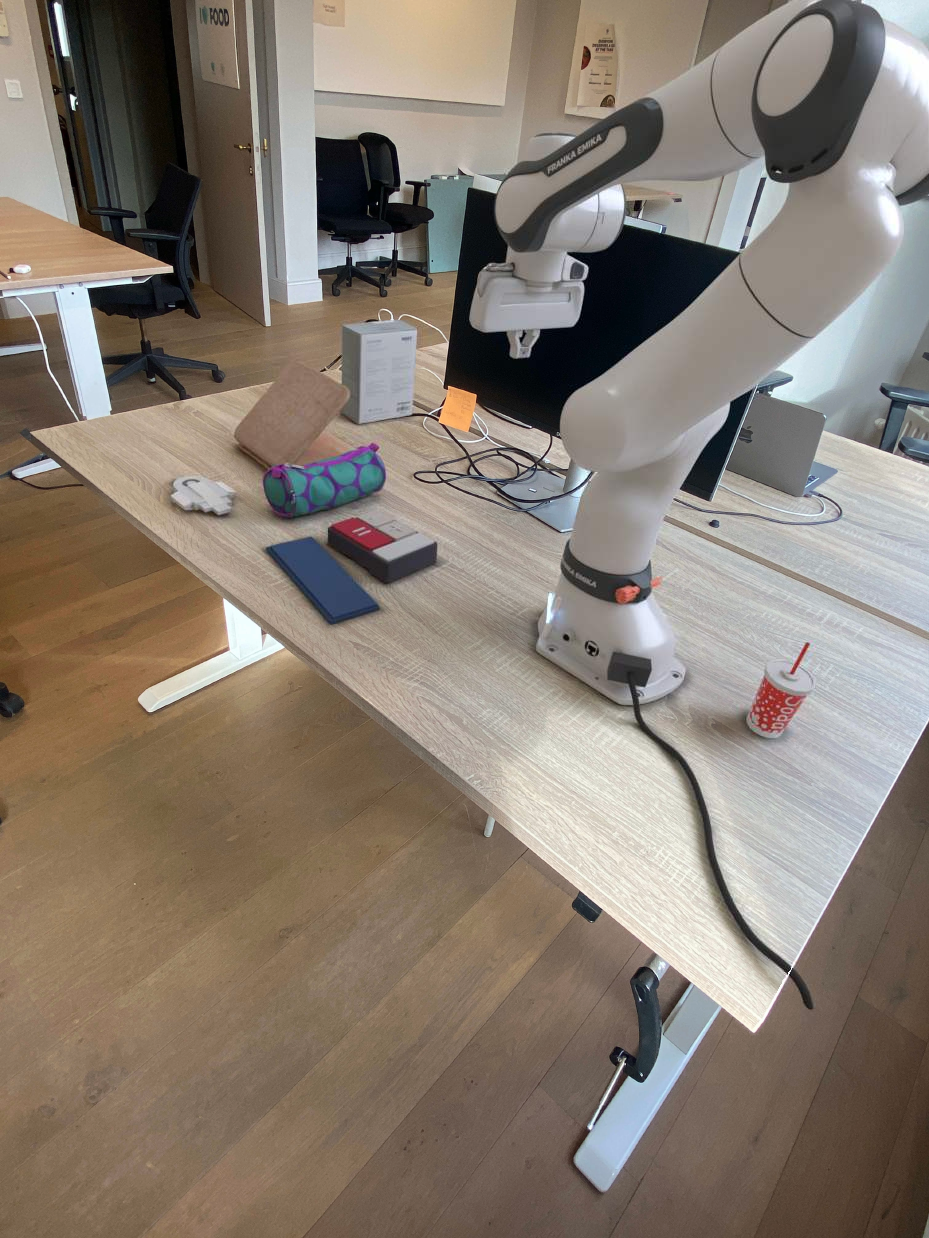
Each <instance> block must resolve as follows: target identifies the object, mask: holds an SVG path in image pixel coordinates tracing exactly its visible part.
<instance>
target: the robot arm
mask: <svg viewBox="0 0 929 1238" xmlns="http://www.w3.org/2000/svg"><path fill="white" fill-rule="evenodd" d="M763 157H764V162H765V164H764V165H765V171H766V173H767V176H768V178H769V179H770V180H771V181H774V182H776V183H780V184H788V189H787V195H786V197H785V201H784V203H783V205H782V207H781V208H780V210H779V212H778V213H777V215H776V216H775V217H774V218H773V219H772V220H771V222H770V223H769V224H768V225H767V226H766V227H765V228H764V229H763V230H762V231H761V232H760V233H759V234H758V235H757V236H756V237H755V238H754V239H753V240H752V241H751V242H750V243H749V244H748V245H747V246H746V247H744V249H743V250H742V251H741V252H740V253H739V254H738V256H736V257H735V259H734V260H733V261H732V262H731V263H730V264H728V266H727V267H726V268H725V269H724V270H723V271H722V272H721V273H720V274H719V275H718V276H717V277H716V278H714V280H713V281H712V282H711V283H710V284H709V285H708V286H707V287H706V288H705V289H704V290H703V291H702V293H701V294H699V296H697V298H695V300H694V301H692V303H690V305H689V306H688V307H686V308H685V309H684V310H683V311H682V312H680V313H679V314H678V315H677V316H675V318H674V319H673V320H671V321H670V322H668V324H666V325H665V326H663V327H662V328H661V329H659V330H658V331H657V332H655V333H653V335H651V336H650V337H648V338H647V339H646V340H644V341H643V342H641V344H639V345H638V346H637V347H635V348H634V349H633V350H632V351H630V352H629V353H628V354H627V355H626V356H624V357H623V358H621V360H619V361H618V362H617V363H615V364H614V365H613V366H612V367H610V368H609V369H607V370H606V371H605V372H604V373H602V374H601V375H599V376H598V377H596V378H594V379H593V380H592V381H590V382H589V383H586V384H585V385H584V386H582V387H580V388H578V389H576V390H575V391H574V392H573V393H571V395H570V396H569V397H568V398H567V400H566V402H565V404H564V405H563V408H562V411H561V415H560V418H559V419H560V420H559V433H560V438H561V439H560V440H561V442H562V445H563V448H564V450H565V452H566V454H567V456H568V457H569V458H570V459H571V461H572V462H573V463H574V464H575V465H577V466H578V467H579V468H580V469H583V470H585V471H588V472H593V473H597V474H595V476H594V477H593V478H592V479H591V480H590V481H589V482H588V483H587V484H586V486H585V487H584V489H583V491H582V492H581V495H580V496H579V497H580V498H579V502H578V506H577V510H576V514H575V518H574V522H573V526H572V530H571V535H570V537H569V539H567V541H566V543H565V545H564V550H563V553H562V556H561V560H560V566H559V568H560V574H559V578H558V580H557V583H556V586H555V587H554V590H553V593H549V594H548V599H547V604H546V605H547V606H546V607H545V609H544V611H543V613H542V614H541V615H540V617H539V618H538V621H537V632H538V639H537V642H536V644H535V650H536V652H537V653H538V654H539V655H540V656H543V657H544V658H546V659H547V660H549V661H550V662H552V663H554V664H555V665H557V666H558V667H560V668H561V669H563V670H564V671H565V672H567V673H569V674H571V675H572V676H574V677H575V678H577V679H579V680H580V681H581V682H583V683H585V684H586V685H588V686H590V687H591V688H593V690H595V691H597V692H599V693H600V694H602V695H603V696H605V697H607V698H608V699H610V700H612V701H613V702H615V703H617V704H618V705H623V706H633V714H634V718H635V721H636V722H637V725H638V726H639V728H640V729H641V730H642V731H643V732H644V733H645V734H646V735H647V736H648V737H649V738H650V739H651V740H653V742H655V743H656V744H658V746H660V747H661V748H662V749H664V750H665V751H666V752H668V753H669V754H670V755H671V756H672V757H673V758H674V759H675V760H676V762H677V763H679V765H680V767H681V768H682V770H683V772H684V773H685V774H686V777H687V778H688V781H689V783H690V785H691V787H692V791H693V794H694V796H695V800H696V803H697V806H698V809H699V812H700V816H701V819H702V820H701V821H702V825H703V826H702V827H703V832H704V842H705V849H706V852H707V858H708V861H709V864H710V868H711V871H712V874H713V877H714V879H715V882H716V884H717V888H718V890H719V892H720V895H721V897H722V899H723V901H724V903H725V905H726V907H727V909H728V911H729V913H730V914H731V917H732V918H733V919H734V921H735V924H736V925H737V926H738V927H739V929H740V931H741V932H742V933H743V935H744V936H745V938H747V940H748V941H749V943H751V944H752V946H753V947H755V949H757V950H758V951H759V952H760V953H761V954H763V956H764V957H766V958H767V959H769V960H770V961H771V962H772V963H773V964H775V965H776V967H778V968H779V969H781V970H782V971H783V972H784V973H785V974H786V975H787V976H788V972H789V971H790V970H791V967H793V966H792V965H791V964H790V963H788V961H786V960H785V959H784V958H782V957H781V956H780V955H778V953H776V952H775V951H774V950H772V949H771V948H770V947H769V946H767V945H766V944H765V943H764V942H763V941H762V940H760V938H759V937H758V936H757V935H756V934H755V933H754V931H753V930H752V929H751V927H750V926H749V925H748V923H747V922H746V920H745V919H744V917H743V916H742V914H741V912H740V910H739V909H738V907H737V905H736V903H735V902H734V900H733V897H732V896H731V893H730V891H729V888H728V886H727V883H726V881H725V878H724V876H723V873H722V870H721V868H720V865H719V862H718V859H717V855H716V851H715V845H714V839H713V832H712V831H713V830H712V824H711V819H710V814H709V811H708V809H707V808H708V807H707V804H706V802H705V799H704V796H703V792H702V790H701V787H700V784H699V782H698V779H697V777H696V776H695V775H696V774H695V773H694V772H693V770H692V768H691V767H690V765H689V763H688V762H687V760H686V759H685V758H684V757H683V755H682V754H681V753H680V752H679V751H678V750H677V749H676V748H675V747H673V746H672V745H670V744H669V743H667V742H666V741H665V740H663V739H662V738H661V737H659V736H658V735H656V733H654V732H653V730H651V729H650V728H649V726H648V725H647V724H646V722H645V721H644V718H643V717H642V716H643V715H642V713H641V705H644V704H648V703H652V702H654V701H657V700H659V699H661V698H664V697H665V696H667V695H669V694H671V693H673V692H674V691H675V690H677V688H679V687H680V686H681V684H682V683H683V681H684V678H685V675H686V672H687V668H686V667H685V665H684V664H683V663H682V662H681V661H680V660H679V659H678V658H677V657H676V655H675V654H676V648H677V636H676V633H675V632H676V631H675V630H674V629H673V627H672V625H671V624H670V622H669V621H668V618H667V614H666V613H665V612H664V611H663V610H662V608H661V606H660V603H658V601H657V599H656V597H655V595H654V593H653V592H652V591H653V589H654V588H655V587H658V586H659V585H661V581H662V579H663V576H659V577H656V578H654V579H653V573H652V561H651V558H652V557H651V556H652V554H653V552H654V549H655V546H656V543H657V539H658V537H659V534H660V531H661V528H662V525H663V523H664V520H665V517H666V515H667V513H668V510H669V509H670V507H671V505H672V503H673V501H674V499H675V498H676V496H677V494H678V492H679V491H680V489H681V487H682V486H683V484H684V482H685V480H686V479H687V477H688V475H689V474H690V472H691V471H692V468H693V467H694V465H695V464H696V461H697V460H698V458H699V456H700V455H701V453H702V452H703V450H704V449H705V448H706V446H707V444H708V443H710V441H711V439H712V438H713V437H714V436H715V435H716V434H717V433H718V432H719V431H720V430H721V429H722V427H723V426H724V424H725V422H726V421H727V418H728V416H729V413H730V408H731V402H733V401H734V400H736V399H737V398H740V396H743V395H744V394H747V393H748V392H750V391H751V390H753V389H754V388H755V387H757V386H758V385H759V384H760V383H762V381H764V380H765V379H766V378H767V377H769V376H770V375H771V374H772V373H774V372H775V371H776V370H778V369H779V368H780V366H782V365H783V364H784V363H786V362H787V361H788V360H789V359H790V358H792V357H793V356H794V355H795V354H797V352H799V351H800V350H801V349H803V348H804V347H805V346H806V345H808V343H810V342H811V341H812V340H813V339H815V338H816V337H817V336H818V335H820V334H821V333H822V332H823V331H824V330H825V329H827V327H829V326H830V325H831V324H832V323H833V322H834V321H835V320H836V319H838V318H839V317H840V316H841V315H842V314H843V313H844V312H845V311H847V309H849V308H850V307H851V306H852V304H854V302H855V301H856V300H857V299H859V298H860V297H861V295H862V294H863V293H865V291H866V290H867V289H868V288H869V287H870V286H871V285H872V284H873V283H874V282H875V280H877V279H878V277H879V276H880V275H881V274H882V272H883V271H884V270H885V269H886V268H887V267H888V265H889V264H890V263H891V262H892V261H893V260H894V258H895V257H896V255H897V254H898V252H899V250H900V248H901V246H902V243H903V240H904V234H905V222H904V215H903V212H902V208H901V207H902V206H907V205H910V204H913V203H916V202H918V201H920V200H922V199H924V198H926V197H927V196H929V48H928V47H927V46H926V44H925V43H924V42H923V41H922V40H921V39H920V38H918V37H917V36H916V35H914V34H913V33H911V32H910V31H908V30H906V29H905V28H903V27H901V26H900V25H898V24H896V23H894V22H892V21H890V20H888V19H886V18H883V16H881V14H880V12H878V10H877V9H876V8H875V7H873V6H871V5H870V4H867V3H864V2H861V1H857V0H791V1H788V2H787V3H785V4H783V5H782V6H779V7H778V8H776V9H775V10H772V11H771V12H770V13H767V14H766V15H764V16H763V17H761V18H760V19H758V20H757V21H755V22H754V23H752V24H751V25H749V26H748V27H746V28H745V29H743V30H742V31H740V32H739V33H737V34H736V35H735V36H734V37H732V38H731V39H729V40H728V41H727V42H726V43H724V44H723V45H722V46H721V47H719V48H718V49H716V50H715V51H714V52H713V53H711V54H710V55H708V56H707V57H706V58H704V59H703V60H702V61H700V62H699V63H697V64H696V65H694V66H693V67H692V68H690V69H688V70H687V71H685V72H684V73H682V74H681V75H679V76H678V77H676V78H674V79H673V80H671V81H670V82H667V83H666V84H664V85H663V86H661V87H660V88H657V89H655V90H654V91H652V92H650V93H648V94H646V95H645V96H643V97H641V98H638V99H637V100H635V101H633V102H631V103H630V104H628V105H626V106H624V107H622V108H620V109H618V110H616V111H614V112H612V113H611V114H609V115H608V116H606V117H604V118H603V119H601V120H600V121H598V122H597V123H595V124H594V125H592V126H590V127H589V128H587V129H586V130H584V131H583V132H582V133H580V134H578V135H575V134H571V133H564V132H544V133H539V134H536V135H534V136H533V137H531V138H530V139H529V141H528V143H527V145H526V147H525V149H524V153H523V156H522V161H520V162H518V163H516V164H515V165H514V166H513V167H512V168H510V170H509V171H508V172H507V174H506V175H505V176H504V178H503V180H502V181H501V183H500V184H499V186H498V188H497V191H496V194H495V198H494V203H493V216H494V221H495V225H496V227H497V229H498V232H499V233H500V235H501V237H502V239H503V240H504V242H505V243H506V244H507V251H506V258H505V262H501V263H496V262H490V263H488V264H487V265H486V266H485V267H483V268H482V269H481V271H479V273H478V276H477V283H476V286H475V289H474V293H473V298H472V300H471V301H472V302H471V307H470V311H469V318H468V319H469V323H470V325H471V326H472V328H473V329H474V330H475V329H476V330H477V331H480V332H482V333H497V332H506V336H507V338H508V342H509V345H510V348H509V356H510V357H511V358H513V359H525V358H527V359H528V358H530V357H531V352H532V347H533V346H534V345H535V343H536V342H537V340H538V339H539V338H540V333H541V330H542V329H543V330H547V329H562V328H563V329H564V328H572V327H574V326H575V325H576V324H577V322H578V321H579V319H580V316H581V311H582V306H583V301H584V296H585V285H584V282H583V281H585V280H586V279H587V277H588V274H589V266H588V265H587V264H586V263H583V262H581V260H578V259H576V258H574V257H573V256H570V255H569V254H568V253H596V252H602V251H606V250H607V249H609V248H610V247H611V246H612V245H613V244H614V243H615V242H616V240H617V239H618V237H619V236H620V234H621V232H622V230H623V227H624V224H625V221H626V215H627V209H628V208H627V207H628V205H627V196H626V192H625V189H624V186H623V185H622V184H625V183H632V182H641V181H678V182H704V181H710V180H713V179H717V178H721V177H723V176H726V175H729V174H732V173H734V172H737V171H740V170H742V169H744V168H747V167H748V166H750V165H752V164H753V163H755V162H757V161H759V160H760V159H762V158H763ZM523 332H524V333H525V336H524V338H523V339H522V342H521V341H520V338H522V337H523ZM788 977H789V978H790V980H791V981H792V982H793V983H794V985H795V986H796V988H797V990H798V992H799V994H800V996H801V999H802V1003H803V1005H804V1006H805V1008H806V1009H807V1010H809V1011H813V1010H814V1003H813V998H812V996H811V992H810V990H809V988H808V986H807V984H806V982H805V980H804V979H803V977H802V976H801V975H800V974H799V972H798V971H796V969H795V968H794V967H793V968H792V970H791V972H790V974H789V976H788Z"/></svg>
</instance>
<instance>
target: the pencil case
mask: <svg viewBox="0 0 929 1238" xmlns="http://www.w3.org/2000/svg"><path fill="white" fill-rule="evenodd" d="M356 448H357V449H356V450H352V451H348V452H346V453H344V454H342V455H338V456H335V457H332V458H328V459H324V460H321V461H317V462H314V463H311V464H309V465H304V466H299V465H293V464H290V463H285V464H276V465H274V466H273V467H271V468H270V469H267V470H266V471H265V473H264V475H263V477H262V487H263V488H262V489H263V492H264V495H265V498H266V500H267V503H268V505H269V507H270V508H271V509H272V510H273V512H275V514H277V515H278V516H279V517H282V518H294V517H297V516H304V515H311V514H315V513H318V512H321V511H326V510H329V509H333V508H336V507H340V506H342V505H344V504H348V503H351V502H353V501H357V500H358V499H362V498H364V497H367V496H370V495H372V494H375V493H379V492H380V491H381V490H382V489H383V488H384V486H385V483H386V479H387V472H386V471H387V469H386V467H385V463H384V461H383V459H382V458H381V456H380V455H379V454H377V452H378V451H379V449H380V446H379V445H378V444H376V443H375V442H371V443H370V444H369V445H368V446H365V445H361V446H358V447H356ZM288 464H289V465H288Z"/></svg>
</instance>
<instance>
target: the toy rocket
mask: <svg viewBox="0 0 929 1238" xmlns="http://www.w3.org/2000/svg"><path fill="white" fill-rule="evenodd" d="M171 480H172V484H173V493H172V494H170V501H172V502H173V503H175V504H176V505H178V507H180V508H181V509H183V510H184V511H198V510H201V511H203V512H204V513H209V512H214V514H216V515H218V516H221V515H225V514H228V513H231V512H233V507H232V506H233V501H232V499H234V498H236V497H237V491H235V490H234V489H232V488H231V487H230V486H228V485H227V484H226V483H224V482H223V481H214V482H213V481H212V480H211V479H209V478H207V477H203V476H199V475H187V476H179V477H175V478H171Z"/></svg>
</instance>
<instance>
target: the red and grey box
mask: <svg viewBox="0 0 929 1238" xmlns="http://www.w3.org/2000/svg"><path fill="white" fill-rule="evenodd" d="M327 544H328V545H329V546H331V547H333V548H334V549H335V550H337V551H339V552H341V553H342V554H344V555H345V556H347V557H349V558H350V559H352V560H354V561H355V562H357V563H358V564H360V565H361V566H363V567H365V568H366V569H367V570H368V572H369V573H370V574H371V575H372V576H374V577H376V578H377V579H379V580H380V581H382V582H383V583H385V584H389V583H392V582H394V581H397V580H399V579H401V578H403V577H405V576H407V575H411V574H412V573H414V572H417V571H419V570H421V569H424V568H427V567H429V566H431V565H434V564H436V563H437V558H438V557H437V556H438V542H437V541H435V540H434V539H432V538H430V537H428V536H427V535H424V534H423V533H421V532H419V531H417V529H415V528H414V527H411V526H410V525H408V524H406V523H404V522H403V521H401V520H398V519H396V518H395V517H393V516H391V515H390V514H388V513H386V512H384V511H383V510H381V509H373V510H370V511H367V512H365V513H362V514H359V515H357V516H356V517H349V518H347V519H345V520H344V519H343V520H341V521H338V522H335V523H332V524H331V525H330V526H328V527H327Z"/></svg>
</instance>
